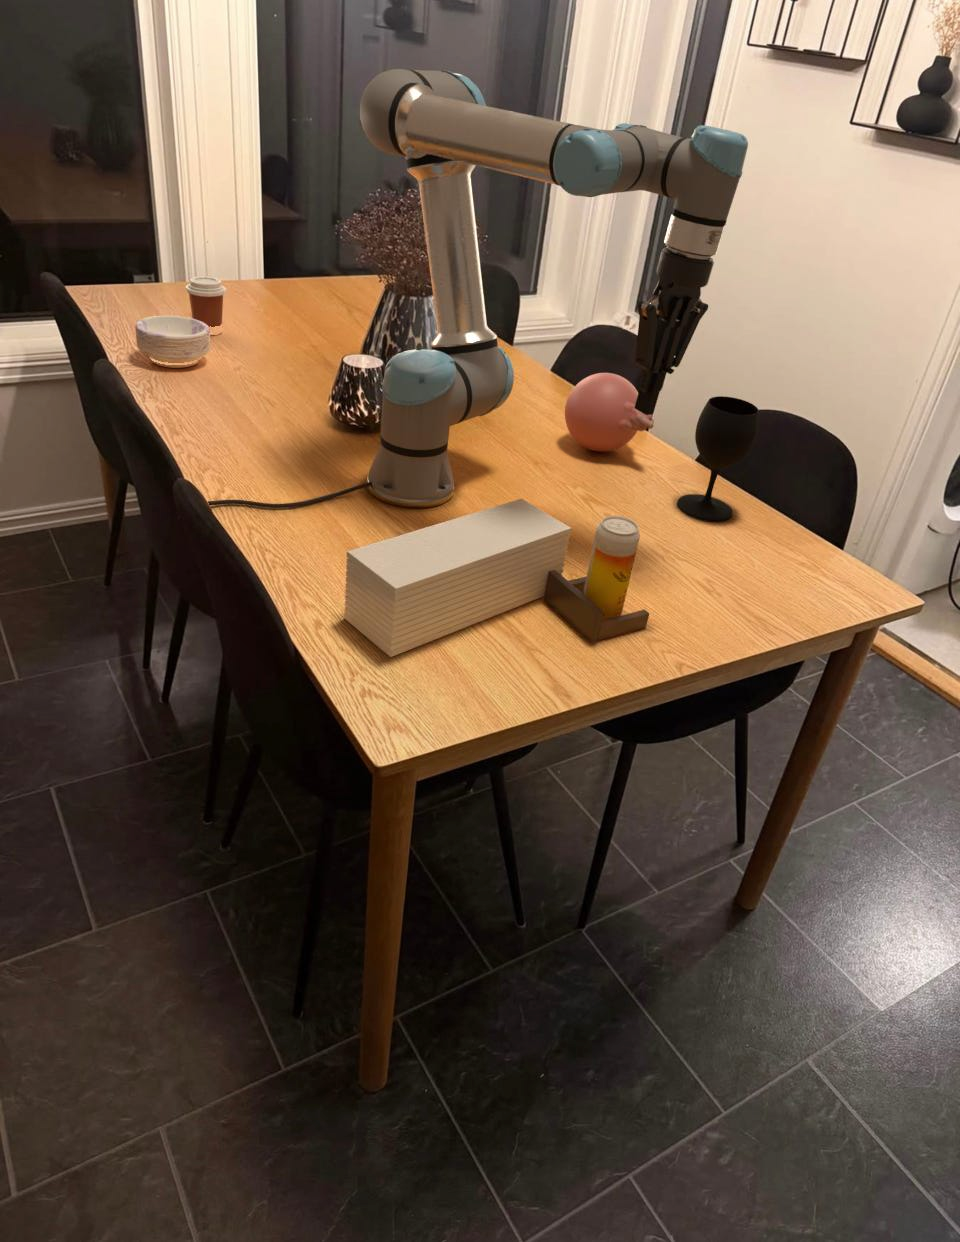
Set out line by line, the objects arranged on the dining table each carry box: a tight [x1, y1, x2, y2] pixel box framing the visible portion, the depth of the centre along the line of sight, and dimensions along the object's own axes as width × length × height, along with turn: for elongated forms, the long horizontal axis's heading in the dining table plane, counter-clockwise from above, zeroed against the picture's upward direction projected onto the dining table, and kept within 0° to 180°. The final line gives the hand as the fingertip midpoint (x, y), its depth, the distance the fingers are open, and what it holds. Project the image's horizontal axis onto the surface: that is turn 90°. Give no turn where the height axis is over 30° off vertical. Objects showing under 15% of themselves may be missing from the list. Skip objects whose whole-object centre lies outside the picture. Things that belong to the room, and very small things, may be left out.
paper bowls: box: [135, 315, 211, 369], centre depth 200 cm, size 15×15×8 cm
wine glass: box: [676, 395, 760, 523], centre depth 165 cm, size 10×10×20 cm
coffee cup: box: [185, 275, 227, 327], centre depth 217 cm, size 9×9×12 cm
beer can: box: [583, 515, 641, 620], centre depth 132 cm, size 6×6×15 cm
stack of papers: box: [343, 498, 572, 658], centre depth 131 cm, size 32×11×11 cm, turn 131°
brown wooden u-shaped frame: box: [543, 570, 650, 643], centre depth 135 cm, size 10×12×5 cm
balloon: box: [564, 372, 655, 453], centre depth 183 cm, size 15×20×15 cm
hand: (643, 411), depth 142 cm, fingers closed
